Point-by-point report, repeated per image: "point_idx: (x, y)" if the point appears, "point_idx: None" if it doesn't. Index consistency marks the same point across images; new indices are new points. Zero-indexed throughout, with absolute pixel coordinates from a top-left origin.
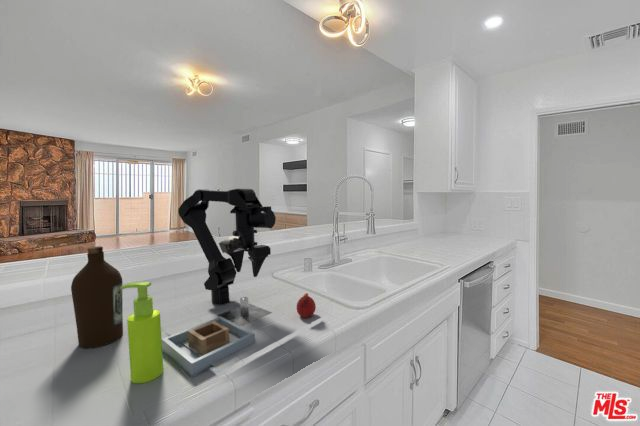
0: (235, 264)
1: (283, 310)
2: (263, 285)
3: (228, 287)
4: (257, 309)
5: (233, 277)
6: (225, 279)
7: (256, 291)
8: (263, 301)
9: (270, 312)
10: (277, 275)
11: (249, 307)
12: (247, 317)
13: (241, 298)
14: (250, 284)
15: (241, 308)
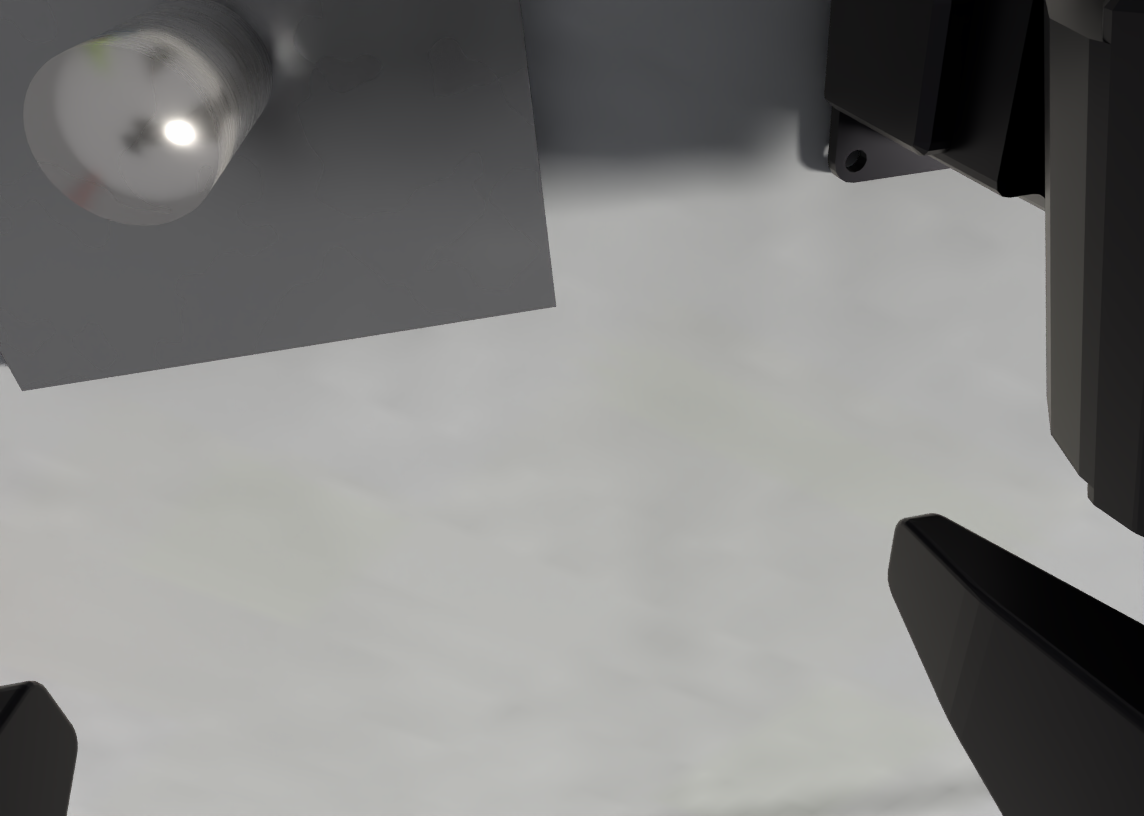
0: (1130, 689)
1: (133, 524)
2: None
3: (992, 186)
4: (261, 295)
5: (1050, 379)
6: (1064, 127)
7: None
8: (562, 475)
9: (38, 376)
10: None
11: (412, 243)
12: (26, 33)
13: (150, 90)
14: (1126, 569)
15: (140, 17)
